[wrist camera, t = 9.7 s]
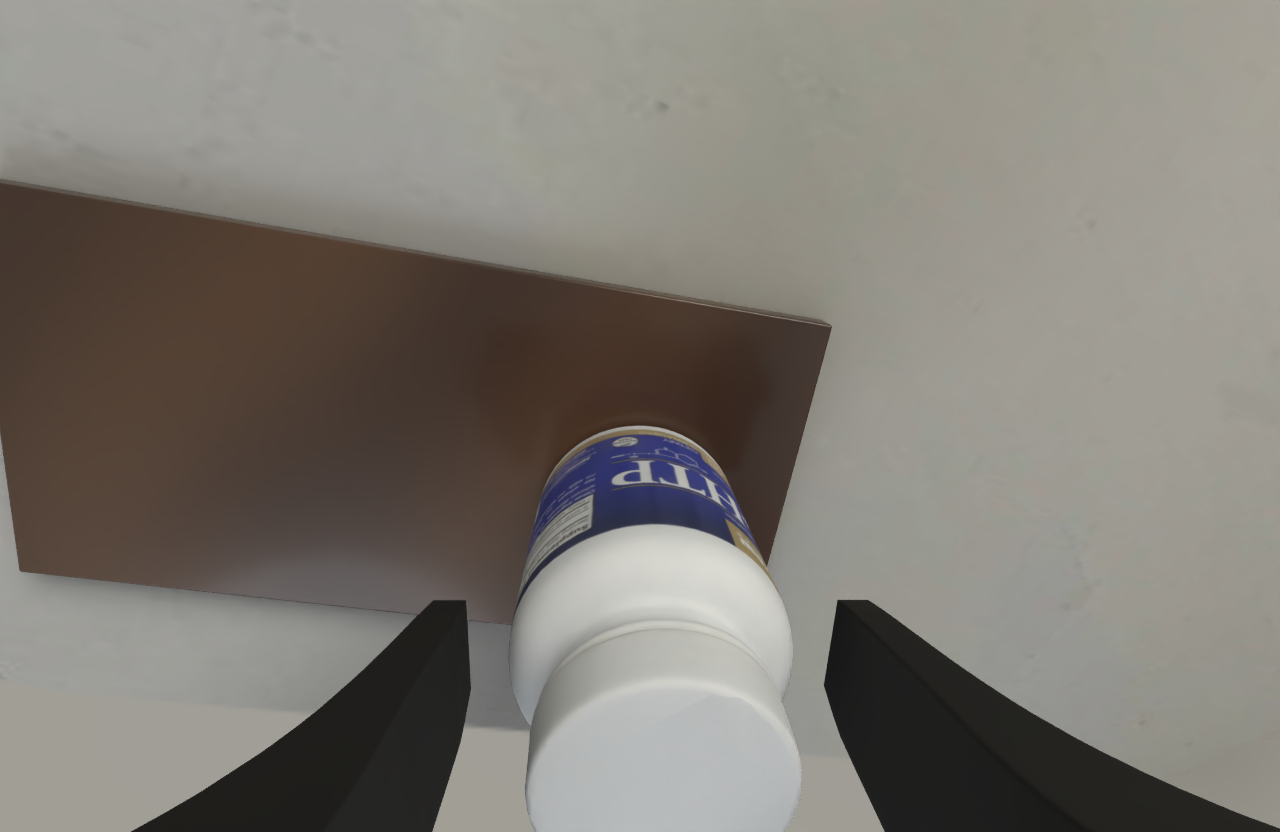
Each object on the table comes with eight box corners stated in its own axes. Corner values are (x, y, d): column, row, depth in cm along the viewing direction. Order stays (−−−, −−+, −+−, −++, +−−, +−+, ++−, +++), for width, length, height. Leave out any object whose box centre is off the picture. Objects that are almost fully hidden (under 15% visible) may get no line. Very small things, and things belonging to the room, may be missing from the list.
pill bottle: (768, 478, 17) (929, 739, 9) (666, 621, 18) (721, 967, 10) (599, 383, 16) (599, 578, 8) (503, 542, 17) (413, 859, 9)
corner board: (822, 319, 17) (832, 325, 16) (739, 634, 20) (744, 651, 19) (-5, 178, 15) (-38, 175, 14) (43, 556, 18) (18, 572, 17)
